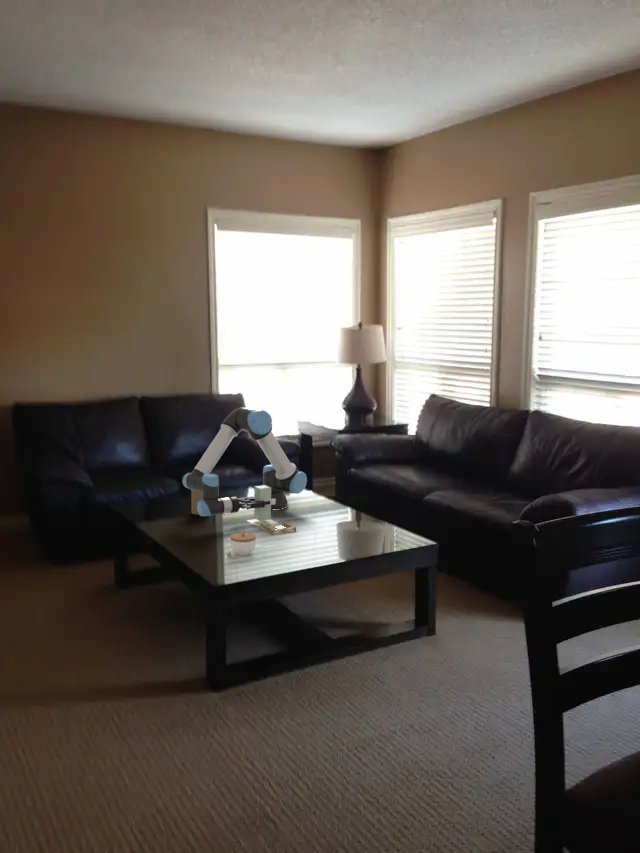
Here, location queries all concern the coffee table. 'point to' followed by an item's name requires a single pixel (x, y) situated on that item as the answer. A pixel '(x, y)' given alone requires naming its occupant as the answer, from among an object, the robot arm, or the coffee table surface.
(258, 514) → the tall block
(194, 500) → the block
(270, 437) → the robot arm
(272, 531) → the shallow wooden tray
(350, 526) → the coffee table surface
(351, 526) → the coffee table surface
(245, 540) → the lidded jar
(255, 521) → the pad
